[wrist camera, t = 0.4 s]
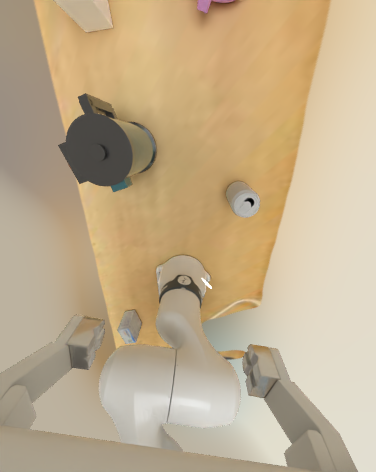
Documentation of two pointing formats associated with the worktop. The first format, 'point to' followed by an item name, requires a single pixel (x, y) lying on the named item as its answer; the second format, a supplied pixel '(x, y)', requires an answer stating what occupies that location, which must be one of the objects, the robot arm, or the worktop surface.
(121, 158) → the jug
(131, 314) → the medicine box
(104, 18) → the milk
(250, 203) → the beverage can
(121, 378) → the robot arm
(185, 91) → the worktop surface
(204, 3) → the teapot
